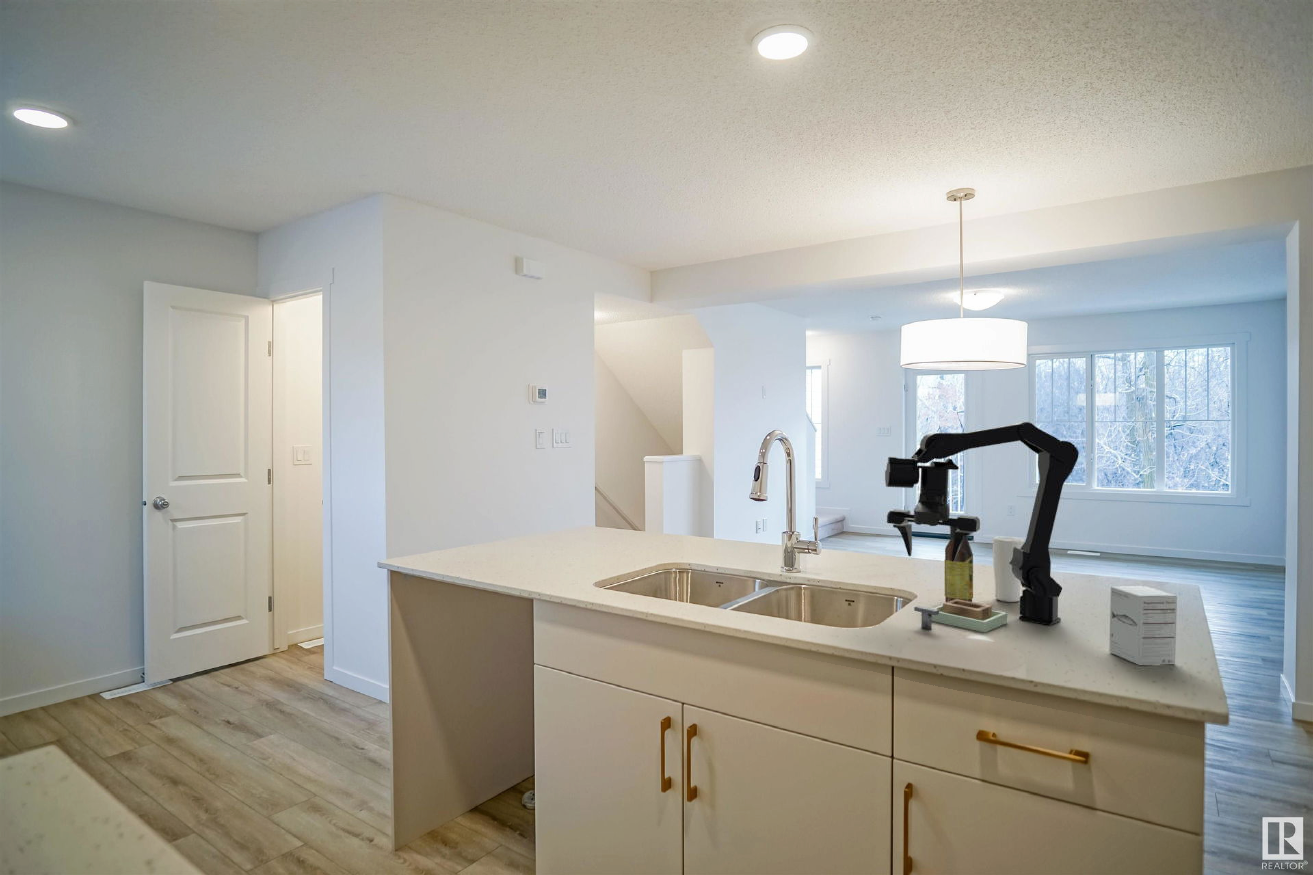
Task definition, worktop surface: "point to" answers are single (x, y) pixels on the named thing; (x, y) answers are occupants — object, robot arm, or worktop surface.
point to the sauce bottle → (958, 571)
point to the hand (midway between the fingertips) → (931, 558)
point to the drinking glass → (1005, 569)
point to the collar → (968, 609)
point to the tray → (971, 620)
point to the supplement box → (1143, 625)
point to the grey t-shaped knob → (926, 616)
